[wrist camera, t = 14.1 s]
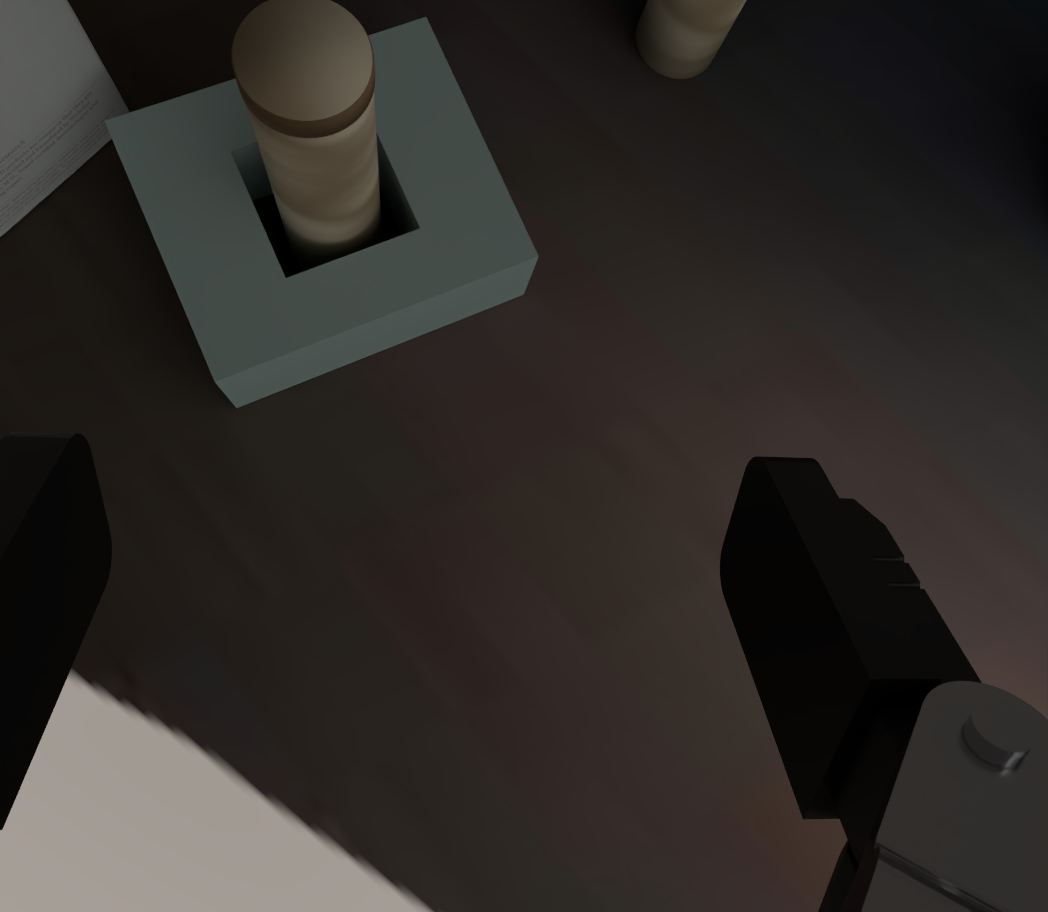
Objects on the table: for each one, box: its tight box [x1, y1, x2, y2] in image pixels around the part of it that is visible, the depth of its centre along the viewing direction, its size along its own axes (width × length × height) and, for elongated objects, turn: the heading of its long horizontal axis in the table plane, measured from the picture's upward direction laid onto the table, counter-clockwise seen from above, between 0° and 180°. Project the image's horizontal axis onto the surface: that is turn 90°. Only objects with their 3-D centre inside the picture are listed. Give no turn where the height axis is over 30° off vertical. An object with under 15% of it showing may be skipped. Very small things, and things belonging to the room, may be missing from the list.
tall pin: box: [231, 0, 382, 271], centre depth 29 cm, size 4×4×12 cm
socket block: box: [105, 17, 538, 408], centre depth 33 cm, size 12×10×4 cm
